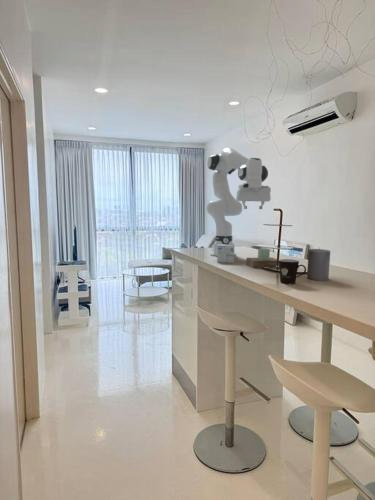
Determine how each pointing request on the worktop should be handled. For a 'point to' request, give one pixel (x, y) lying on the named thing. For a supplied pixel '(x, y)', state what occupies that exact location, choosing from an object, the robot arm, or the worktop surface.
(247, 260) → the walnut plinth
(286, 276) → the coffee mug
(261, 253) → the sage block
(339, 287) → the worktop surface
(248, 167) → the robot arm
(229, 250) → the light bulb box
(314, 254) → the pillar candle
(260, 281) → the worktop surface
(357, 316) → the worktop surface
